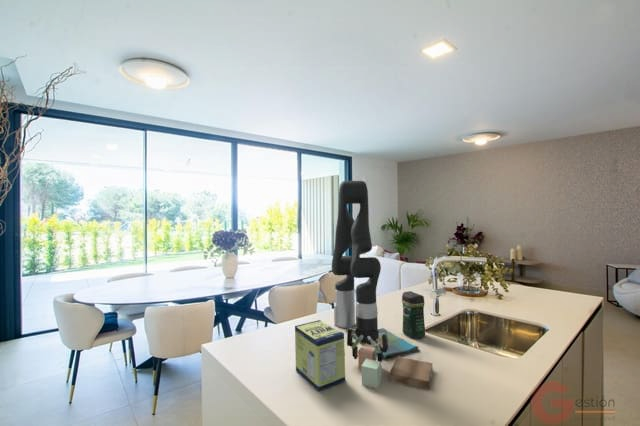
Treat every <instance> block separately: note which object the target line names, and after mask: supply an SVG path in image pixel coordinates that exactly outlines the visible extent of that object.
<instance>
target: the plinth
mask: <svg viewBox="0 0 640 426" xmlns="http://www.w3.org/2000/svg"><path fill="white" fill-rule="evenodd" d="M433 370H434V369H433V362H428V361H424V360H423V361H422V360H417V359H412V358H406V357H403V356H400V357H395V358H394V361H393V364H392V367H391V368H390V371H389V374H388V375H389V378H388V380H389V381H390V382H392V383H398V384H401V385H406V386H410V387H415V388H420V389H425V390H430V388H431V382H432V376H433Z"/></svg>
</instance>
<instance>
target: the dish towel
mask: <svg viewBox="0 0 640 426" xmlns="http://www.w3.org/2000/svg"><path fill="white" fill-rule="evenodd" d="M378 332H379V333H384V332H386V333H387V339H388V350H387V352H386V353H385V352H383V360H382V361H388V360H391V359H396V357H403V356H406V355H411V354H412V355H413V354H414V353H415V354H416V353H418V352H419V351H420V349H419V346H418V345H413V344H412V343H410V342H409V341H406V340H405V339H403V338H402V337H400V336H397V335H396V334H394V333H392V332H391V331H389V330H387V329H386V328H384V327H382V328H378ZM357 339H358V337H357V336H356V334H355V333H354V334H353V339H352V340H355V341H356V340H357ZM377 339H378V341H379V342H380V345H381V346H382V347H383V343H382V340H381V339H380V337H378V338H377ZM359 344H360V345H361V346H362V345H363V346H368V347H373V345H372V344H371V345H368V344H362V342H359ZM377 353H378V351H377V350H376V357H378V355H377Z"/></svg>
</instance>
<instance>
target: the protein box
mask: <svg viewBox="0 0 640 426" xmlns="http://www.w3.org/2000/svg"><path fill="white" fill-rule="evenodd" d="M294 334H295V335H294V340H295V341H294V342H295V343H294V345H295V347H294V348H295V350H294V351H295V371H296V372H297V373H298V374H299V375H300V376H301V377H302V378H304V380H305V381H307V383H308V384H310V385H311V386H312V387H313V388H314V389H315V390H317V392H320V391H321V392H322V391H324V390H327V389H329V388H331V387H334V386H337V385H339V384H341V383H344V382H346V359H345V356H346V355H345V353H346V352H345V332H342V331H341V330H339V329H337V328H335V327H334V326H332V325H329V324H327V323H326V322H324V321H322V320H320V319H318V320H314V321H310V322H306V323H301V324H297V325H295V326H294Z"/></svg>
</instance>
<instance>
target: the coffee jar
mask: <svg viewBox="0 0 640 426" xmlns="http://www.w3.org/2000/svg"><path fill="white" fill-rule="evenodd" d="M401 295H402V296H401V304H402V334H404V335H405V336H407V337H409V338H411V339H422V338H425V336H426V327H425V326H426V325H425V324H426V323H425V314H424V313H425V312H424V308H425V303H426V302H425V297H424V295H422V294H420V293H416V292H414V291H409V290H408V291H404V292H403V293H402V294H401Z"/></svg>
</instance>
